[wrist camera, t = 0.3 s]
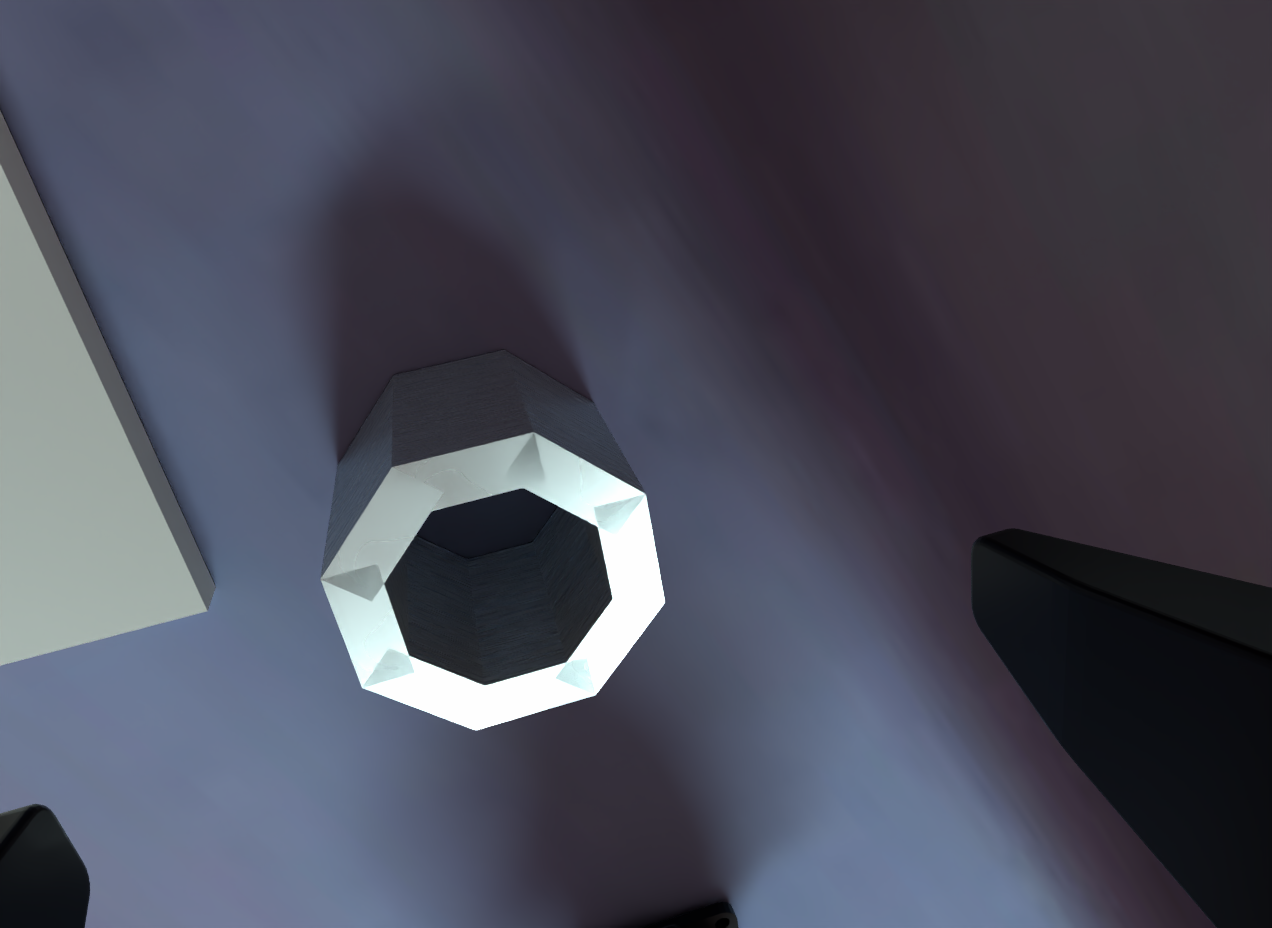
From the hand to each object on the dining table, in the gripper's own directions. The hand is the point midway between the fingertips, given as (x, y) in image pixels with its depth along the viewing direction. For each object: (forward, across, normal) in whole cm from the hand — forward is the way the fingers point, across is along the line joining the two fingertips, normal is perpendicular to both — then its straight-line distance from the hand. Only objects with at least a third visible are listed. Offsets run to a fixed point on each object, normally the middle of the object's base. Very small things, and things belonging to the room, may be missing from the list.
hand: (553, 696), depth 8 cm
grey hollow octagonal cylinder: (+13, 0, +3) cm, 13 cm away
